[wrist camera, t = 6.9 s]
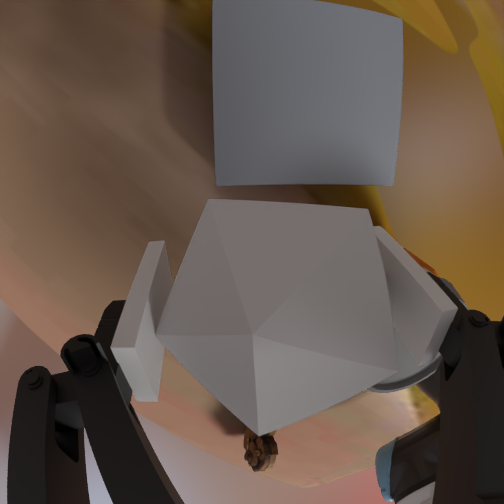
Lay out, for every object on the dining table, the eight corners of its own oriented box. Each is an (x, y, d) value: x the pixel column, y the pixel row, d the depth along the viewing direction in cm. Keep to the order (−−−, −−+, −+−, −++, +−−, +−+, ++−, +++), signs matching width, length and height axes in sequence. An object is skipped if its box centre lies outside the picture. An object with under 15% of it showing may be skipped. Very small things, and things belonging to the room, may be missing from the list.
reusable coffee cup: (299, 301, 39) (333, 398, 25) (333, 208, 33) (399, 288, 20) (380, 308, 41) (428, 388, 28) (417, 229, 35) (491, 298, 22)
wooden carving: (248, 399, 48) (254, 449, 39) (275, 398, 49) (284, 448, 40) (239, 440, 56) (243, 481, 47) (261, 439, 57) (266, 480, 48)
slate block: (372, 28, 24) (402, 19, 18) (366, 169, 31) (393, 185, 26) (213, 13, 22) (212, -5, 17) (216, 169, 30) (215, 186, 25)
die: (171, 162, 13) (86, 389, 8) (378, 111, 8) (369, 477, 4) (257, 255, 19) (221, 417, 14) (405, 245, 14) (392, 444, 10)
